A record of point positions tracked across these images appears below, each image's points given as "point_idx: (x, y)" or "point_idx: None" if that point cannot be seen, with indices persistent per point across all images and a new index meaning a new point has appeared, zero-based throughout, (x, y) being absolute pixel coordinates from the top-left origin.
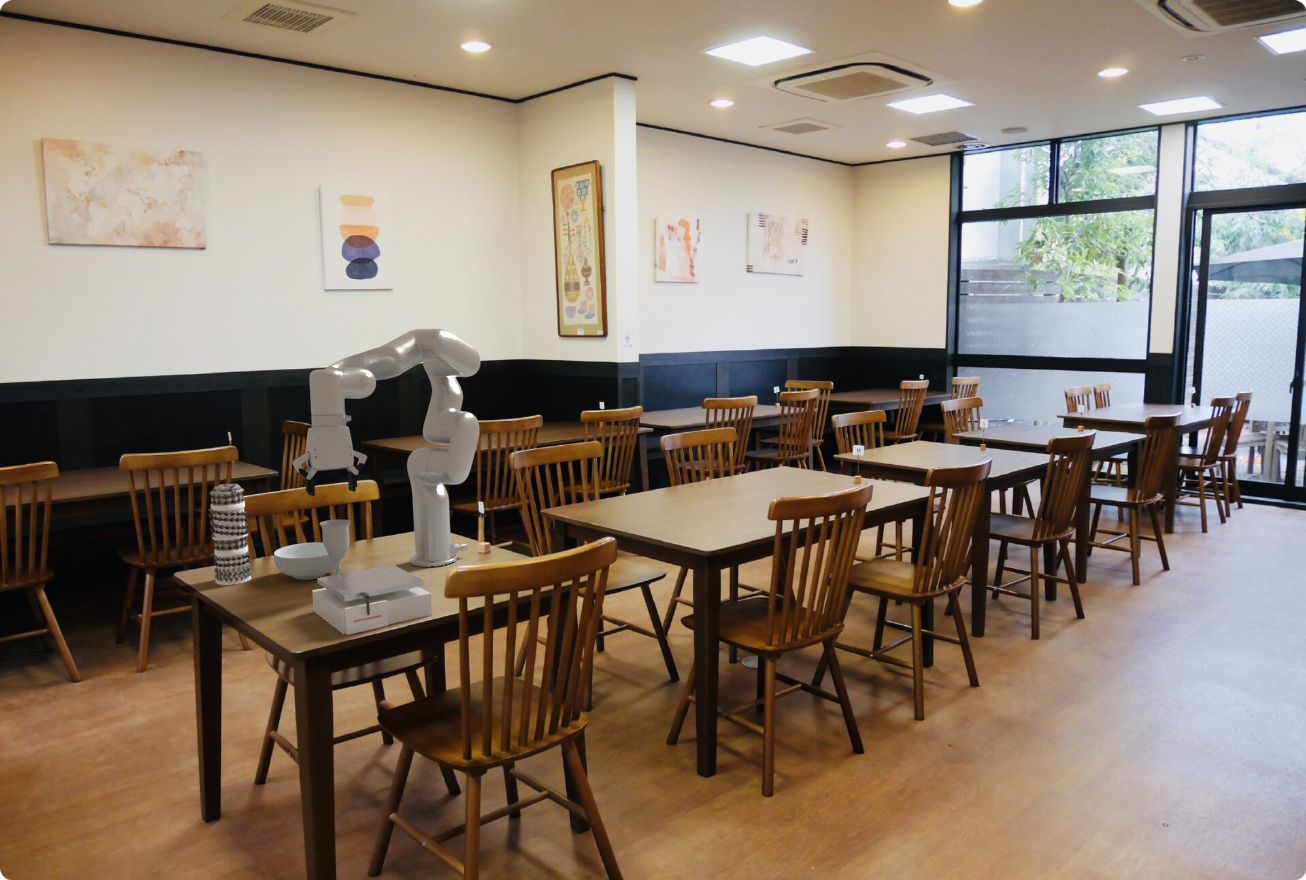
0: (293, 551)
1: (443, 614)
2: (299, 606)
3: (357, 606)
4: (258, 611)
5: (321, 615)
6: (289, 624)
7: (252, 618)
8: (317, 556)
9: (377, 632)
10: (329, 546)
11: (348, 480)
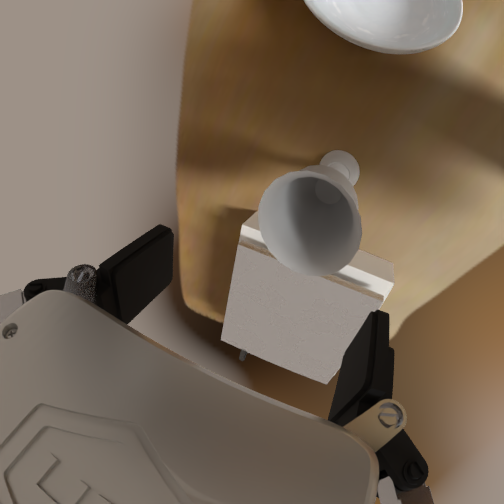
0: None
1: None
2: (256, 166)
3: None
4: (203, 135)
5: None
6: (208, 229)
7: (186, 161)
8: (366, 43)
9: None
10: (291, 211)
11: (366, 355)
